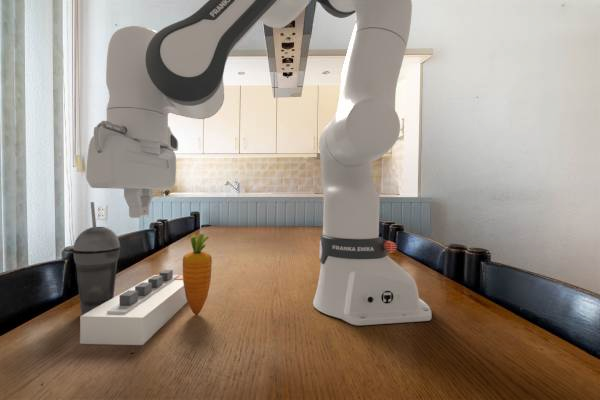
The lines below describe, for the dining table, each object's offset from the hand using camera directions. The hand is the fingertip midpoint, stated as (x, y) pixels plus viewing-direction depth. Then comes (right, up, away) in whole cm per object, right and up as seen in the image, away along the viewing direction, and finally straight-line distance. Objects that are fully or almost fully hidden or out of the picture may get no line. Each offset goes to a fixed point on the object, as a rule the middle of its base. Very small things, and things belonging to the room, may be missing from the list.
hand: (139, 217), depth 49 cm
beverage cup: (-10, -18, +5) cm, 21 cm away
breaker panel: (-1, -18, +5) cm, 18 cm away
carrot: (+8, -18, +5) cm, 20 cm away
